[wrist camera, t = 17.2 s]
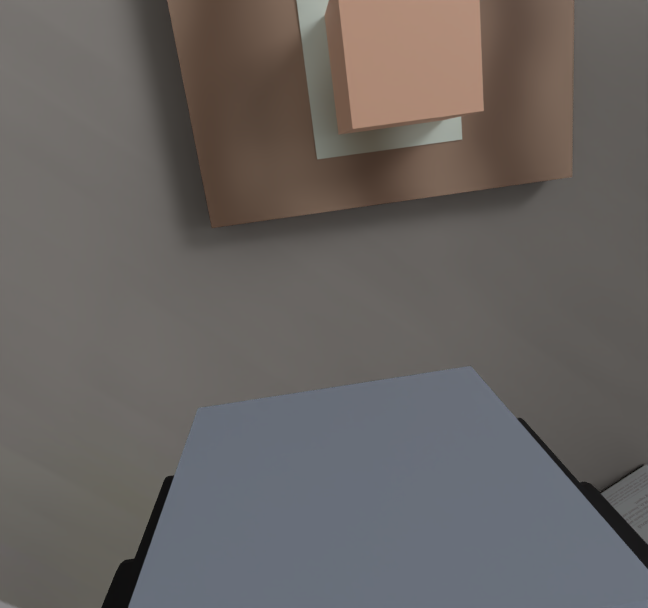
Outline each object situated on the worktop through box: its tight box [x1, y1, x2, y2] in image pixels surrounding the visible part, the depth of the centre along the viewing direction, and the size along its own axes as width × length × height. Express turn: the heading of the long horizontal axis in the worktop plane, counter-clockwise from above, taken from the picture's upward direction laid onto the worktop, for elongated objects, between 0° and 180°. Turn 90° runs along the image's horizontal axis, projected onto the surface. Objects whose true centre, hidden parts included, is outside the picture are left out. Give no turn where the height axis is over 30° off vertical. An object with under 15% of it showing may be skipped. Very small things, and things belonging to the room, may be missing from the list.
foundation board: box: [167, 0, 574, 228], centre depth 24 cm, size 18×12×2 cm, turn 97°
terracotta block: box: [324, 0, 484, 135], centre depth 20 cm, size 5×5×5 cm
